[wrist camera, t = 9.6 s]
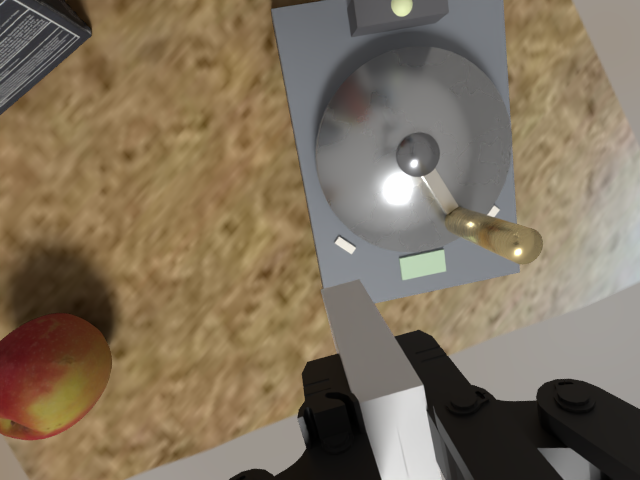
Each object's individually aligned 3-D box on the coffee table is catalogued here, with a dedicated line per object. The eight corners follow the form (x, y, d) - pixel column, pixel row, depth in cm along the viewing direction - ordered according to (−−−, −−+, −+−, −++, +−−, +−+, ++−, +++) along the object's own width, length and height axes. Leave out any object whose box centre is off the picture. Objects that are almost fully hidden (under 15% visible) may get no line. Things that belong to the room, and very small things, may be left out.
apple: (-1, 333, 30) (-96, 396, 22) (91, 282, 30) (27, 328, 22) (62, 407, 32) (-6, 489, 24) (148, 359, 32) (108, 426, 24)
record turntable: (271, 16, 27) (270, -7, 23) (489, -19, 28) (524, -47, 24) (326, 305, 33) (333, 327, 29) (509, 267, 34) (540, 282, 30)
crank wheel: (384, 283, 31) (429, 338, 22) (275, 131, 27) (274, 121, 18) (534, 176, 30) (644, 187, 21) (441, 6, 27) (525, -66, 18)
